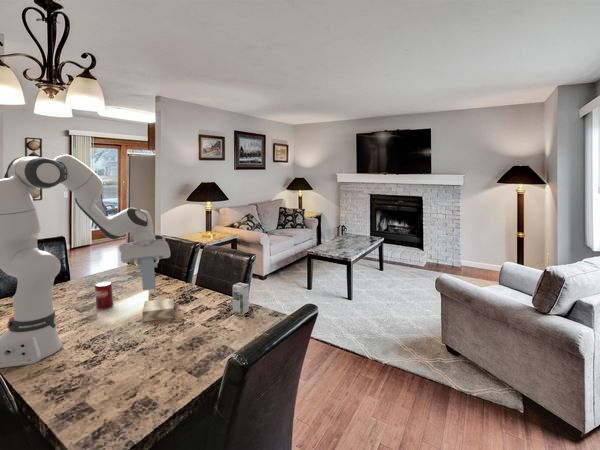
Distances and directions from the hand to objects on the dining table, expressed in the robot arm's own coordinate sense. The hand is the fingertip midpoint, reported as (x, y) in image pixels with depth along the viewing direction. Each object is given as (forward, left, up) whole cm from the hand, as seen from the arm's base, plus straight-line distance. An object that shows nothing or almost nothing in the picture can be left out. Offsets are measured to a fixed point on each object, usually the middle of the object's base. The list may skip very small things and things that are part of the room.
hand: (147, 267), depth 143 cm
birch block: (+4, +7, -26) cm, 27 cm away
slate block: (0, 0, -9) cm, 9 cm away
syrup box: (+39, -10, -25) cm, 48 cm away
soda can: (-19, +27, -25) cm, 42 cm away
